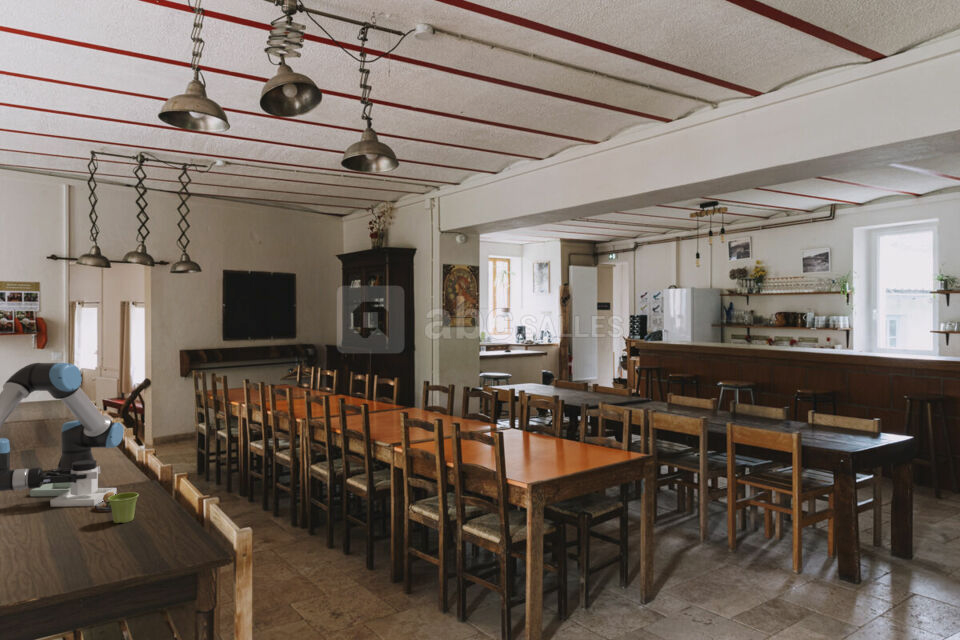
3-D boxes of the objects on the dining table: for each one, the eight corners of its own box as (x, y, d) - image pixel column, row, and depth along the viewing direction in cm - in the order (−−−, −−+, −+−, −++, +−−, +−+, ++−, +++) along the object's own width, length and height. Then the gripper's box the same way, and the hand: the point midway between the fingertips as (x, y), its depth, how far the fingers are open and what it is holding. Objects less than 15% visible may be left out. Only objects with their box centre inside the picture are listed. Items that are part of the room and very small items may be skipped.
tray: (75, 494, 251) (75, 488, 251) (116, 493, 252) (116, 487, 252) (50, 506, 235) (50, 499, 235) (94, 505, 236) (94, 499, 236)
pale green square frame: (52, 486, 262) (52, 480, 262) (89, 486, 263) (89, 480, 263) (30, 496, 248) (30, 490, 248) (68, 495, 249) (68, 489, 249)
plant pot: (117, 527, 212) (117, 501, 212) (102, 522, 217) (102, 497, 217) (144, 519, 220) (144, 495, 220) (129, 514, 225) (129, 491, 225)
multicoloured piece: (123, 512, 229) (123, 491, 229) (88, 513, 227) (88, 493, 227) (135, 502, 241) (135, 483, 241) (102, 504, 239) (102, 484, 239)
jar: (70, 497, 237) (70, 465, 237) (70, 492, 244) (70, 461, 244) (98, 493, 242) (98, 462, 242) (97, 488, 249) (97, 458, 249)
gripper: (35, 481, 245) (102, 475, 255) (21, 495, 226) (94, 488, 236) (35, 462, 245) (102, 457, 255) (21, 475, 226) (94, 468, 236)
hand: (98, 472), depth 245 cm, fingers closed on jar, 8 cm apart
